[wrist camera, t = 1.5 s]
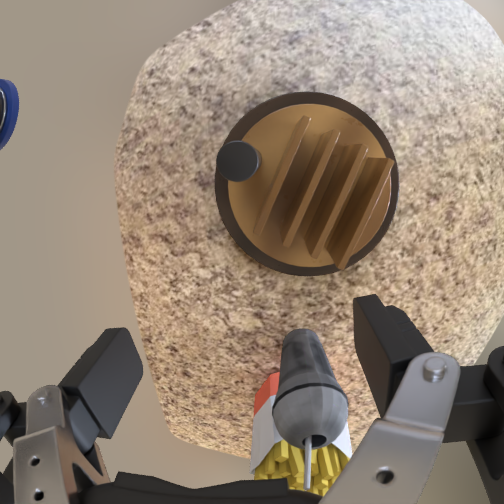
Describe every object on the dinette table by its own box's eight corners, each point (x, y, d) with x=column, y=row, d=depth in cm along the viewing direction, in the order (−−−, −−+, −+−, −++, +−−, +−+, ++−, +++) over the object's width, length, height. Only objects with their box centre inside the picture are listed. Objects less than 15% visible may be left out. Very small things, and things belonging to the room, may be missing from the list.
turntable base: (180, 189, 32) (176, 191, 30) (303, 60, 27) (304, 55, 26) (308, 303, 35) (310, 309, 34) (424, 186, 30) (430, 188, 29)
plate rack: (410, 150, 28) (483, 153, 16) (346, 285, 32) (382, 353, 20) (267, 80, 26) (266, 32, 14) (205, 228, 31) (168, 273, 19)
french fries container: (271, 360, 38) (271, 480, 21) (340, 386, 39) (366, 494, 22) (255, 383, 39) (247, 498, 22) (322, 406, 40) (338, 511, 23)
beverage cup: (341, 343, 36) (382, 476, 17) (297, 375, 38) (309, 508, 19) (304, 307, 35) (331, 448, 16) (259, 343, 37) (250, 484, 18)
